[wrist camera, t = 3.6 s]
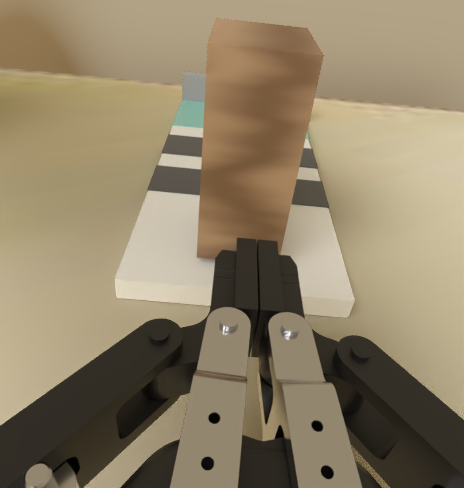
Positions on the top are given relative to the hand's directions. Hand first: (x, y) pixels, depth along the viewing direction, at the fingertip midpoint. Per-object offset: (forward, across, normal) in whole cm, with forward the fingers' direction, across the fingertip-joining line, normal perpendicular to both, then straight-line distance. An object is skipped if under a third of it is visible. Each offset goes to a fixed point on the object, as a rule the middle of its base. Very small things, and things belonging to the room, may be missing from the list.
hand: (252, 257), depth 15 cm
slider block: (+10, 0, +6) cm, 12 cm away
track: (+20, 0, +8) cm, 22 cm away
